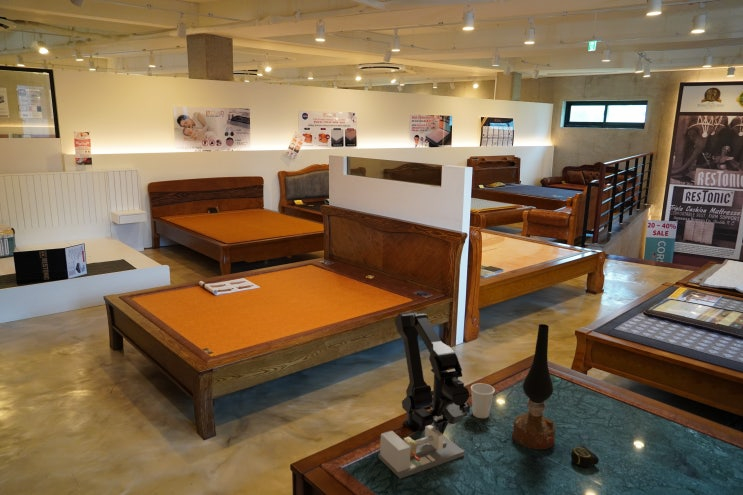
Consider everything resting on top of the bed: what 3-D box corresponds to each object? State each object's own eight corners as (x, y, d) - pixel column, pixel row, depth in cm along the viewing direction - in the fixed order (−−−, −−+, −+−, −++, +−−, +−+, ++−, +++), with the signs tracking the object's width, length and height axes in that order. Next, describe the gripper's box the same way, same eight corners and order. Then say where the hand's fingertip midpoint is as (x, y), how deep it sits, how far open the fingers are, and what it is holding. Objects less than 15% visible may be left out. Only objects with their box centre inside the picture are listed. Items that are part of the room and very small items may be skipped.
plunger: (405, 445, 170) (406, 431, 169) (428, 438, 175) (429, 424, 174) (419, 457, 165) (419, 442, 163) (442, 449, 169) (443, 434, 168)
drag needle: (403, 450, 168) (403, 438, 167) (408, 448, 169) (409, 436, 168) (416, 462, 162) (417, 449, 161) (422, 460, 163) (422, 447, 162)
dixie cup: (479, 422, 191) (481, 395, 188) (464, 411, 198) (465, 386, 196) (497, 416, 195) (499, 390, 193) (481, 406, 202) (483, 381, 200)
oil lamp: (505, 439, 187) (487, 327, 181) (543, 425, 191) (526, 316, 185) (528, 457, 174) (509, 338, 168) (568, 442, 178) (552, 325, 172)
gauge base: (378, 457, 169) (379, 432, 167) (440, 437, 181) (441, 413, 179) (399, 478, 159) (401, 452, 157) (464, 455, 171) (465, 430, 169)
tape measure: (599, 467, 167) (600, 456, 166) (580, 471, 165) (581, 459, 164) (584, 454, 173) (585, 444, 172) (565, 458, 171) (567, 447, 170)
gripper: (434, 409, 157) (432, 457, 161) (483, 394, 167) (480, 440, 170) (412, 393, 167) (410, 439, 170) (459, 379, 176) (456, 423, 180)
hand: (440, 436), depth 172 cm, fingers closed
